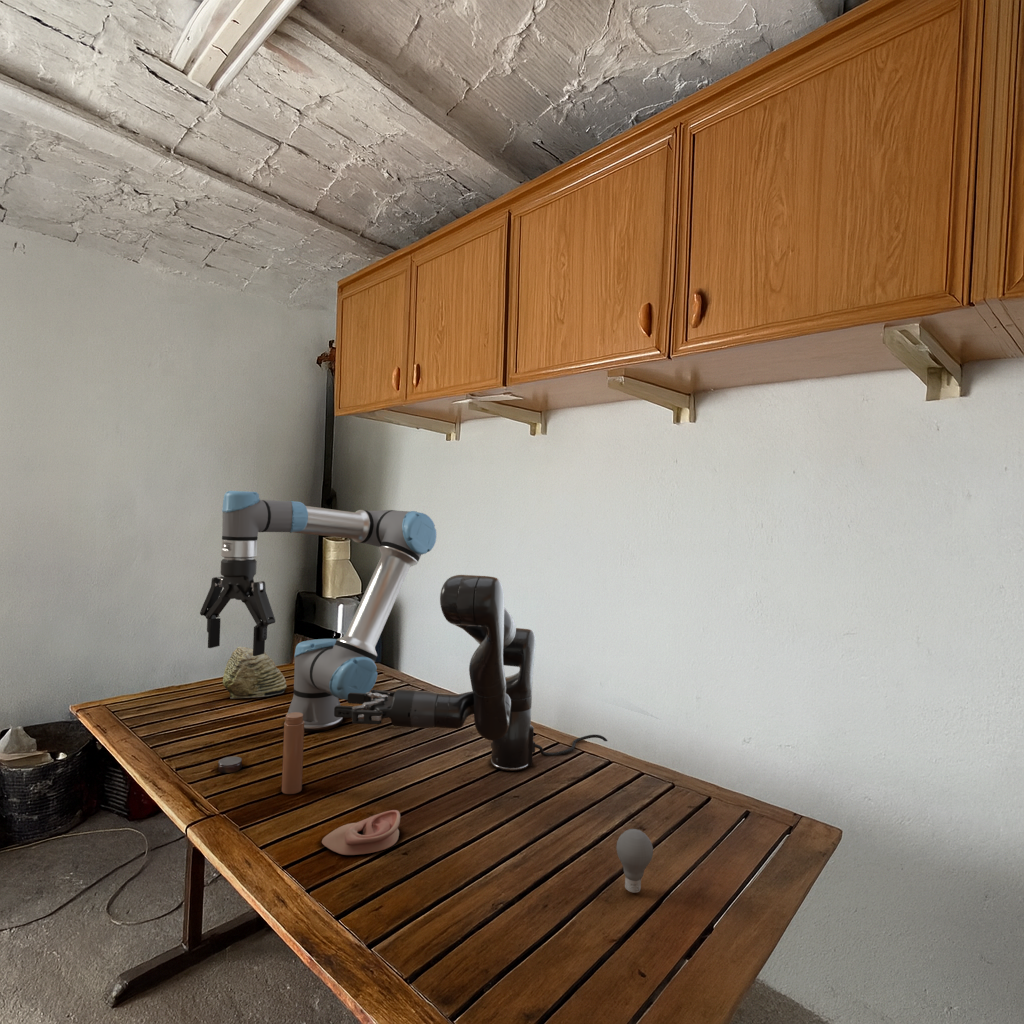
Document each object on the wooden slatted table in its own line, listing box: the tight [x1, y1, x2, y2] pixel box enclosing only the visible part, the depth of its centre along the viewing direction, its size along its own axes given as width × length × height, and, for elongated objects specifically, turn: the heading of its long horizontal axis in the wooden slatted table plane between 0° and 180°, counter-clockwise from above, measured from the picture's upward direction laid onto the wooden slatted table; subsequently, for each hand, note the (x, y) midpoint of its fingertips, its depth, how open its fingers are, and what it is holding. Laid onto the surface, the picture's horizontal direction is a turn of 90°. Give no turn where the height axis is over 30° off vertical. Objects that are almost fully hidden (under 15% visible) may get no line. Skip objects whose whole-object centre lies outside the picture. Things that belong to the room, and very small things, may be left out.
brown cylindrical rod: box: [281, 712, 305, 795], centre depth 136 cm, size 4×4×16 cm
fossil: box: [222, 646, 288, 699], centre depth 198 cm, size 9×18×15 cm, turn 132°
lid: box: [217, 755, 243, 774], centre depth 145 cm, size 5×5×2 cm
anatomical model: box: [321, 809, 401, 856], centre depth 118 cm, size 13×4×12 cm
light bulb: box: [615, 828, 654, 894], centre depth 106 cm, size 6×6×10 cm
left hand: (235, 650), depth 145 cm, fingers open, 13 cm apart
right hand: (341, 704), depth 135 cm, fingers open, 8 cm apart
